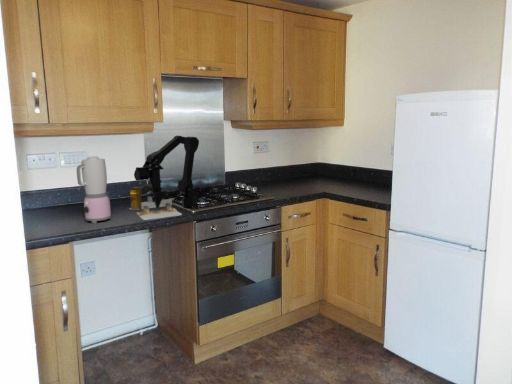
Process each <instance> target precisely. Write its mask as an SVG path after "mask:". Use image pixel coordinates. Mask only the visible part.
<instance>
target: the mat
mask: <svg viewBox="0 0 512 384" xmlns="http://www.w3.org/2000/svg"><path fill="white" fill-rule="evenodd" d="M177 216H183V215H182V212H179V211H178V210H177V211H173V212H165V213H157V214H150V215H142V216H140V218H141V220H143V221H149V220H156V219H164V218H171V217H177Z"/></svg>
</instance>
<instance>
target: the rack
mask: <svg viewBox="0 0 512 384" xmlns="http://www.w3.org/2000/svg"><path fill="white" fill-rule="evenodd" d="M173 211H178V210H177V209H176V208H175V207H172V206H171V204H166V206H164V207H163V208H162V209H155V210H150V208H149V206H147V207H144V209H141V211H137V212H136V215H137V216H138V217H140V216H142V215H150V214H157V213H165V212H173Z"/></svg>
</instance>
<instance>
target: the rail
mask: <svg viewBox="0 0 512 384" xmlns="http://www.w3.org/2000/svg"><path fill="white" fill-rule="evenodd" d="M140 203H141V209H140V210H142V209H144V207H147V206H149V209H155V208H156V204H155V201H153V200H150V201H142V202H140ZM166 204H171V207H172V206H173V201H172V199H171V198H168V199H162V201H161V203H160V206H159V208H162V207H163V208H164V206H166Z"/></svg>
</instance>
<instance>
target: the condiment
mask: <svg viewBox="0 0 512 384" xmlns="http://www.w3.org/2000/svg"><path fill="white" fill-rule="evenodd" d="M139 187H140V186H133V187H132V186H131V187H130V188H129V189H130V193H129V197H130V199H129V200H130V207H129V208H128V209H129V210H132V211H134V210H135V211H139V210H142V209H141V203H140V202H143V201H142V193H141V192H140V190H139Z"/></svg>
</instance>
